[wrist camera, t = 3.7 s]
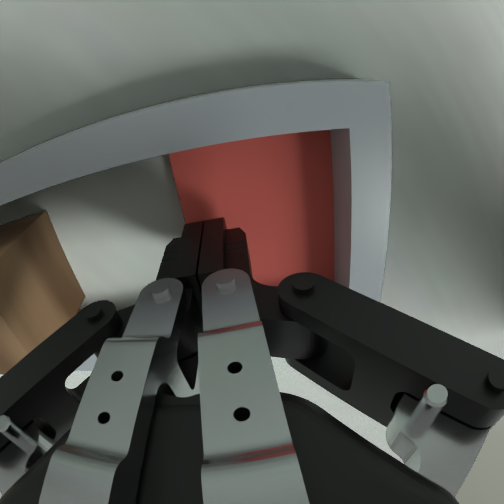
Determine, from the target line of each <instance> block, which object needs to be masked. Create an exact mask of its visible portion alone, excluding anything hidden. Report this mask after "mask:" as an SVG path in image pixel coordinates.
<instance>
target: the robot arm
mask: <svg viewBox="0 0 504 504" xmlns="http://www.w3.org/2000/svg"><path fill="white" fill-rule="evenodd" d="M93 354H95V356H96V357H97V361H96V363H95V365H94V368H93V370H92V373H91V375H90V376H89V377H88V378H87V379H85V380H84V381H83V382H82V383H81V384H80V385H79V386H78V387H76V388H74V389H68V388H66V387H65V381H66V378H67V377H68V376H69V375H70V374H71V373H72V372H73V371H75V370H76V369H77V368H78V367H79V366H80V365H81V364H83V363H84V362H85V361H86V360H87V359H88V358H90V357H91V356H92V355H93ZM270 356H272V357H281V358H285V359H286V361H287V363H288V364H289V365H290V366H291V367H293V368H294V369H295V370H297V371H298V372H300V373H301V374H303V375H304V376H306V377H307V378H309V379H310V380H312V381H313V382H315V383H316V384H318V385H320V386H321V387H323V388H324V389H326V390H327V391H329V392H330V393H332V394H333V395H335V396H337V397H338V398H340V399H341V400H343V401H345V402H346V403H348V404H349V405H351V406H353V407H354V408H356V409H357V410H359V411H361V412H362V413H364V414H366V415H367V416H369V417H371V418H372V419H374V420H376V421H377V422H379V423H381V424H382V425H384V426H386V427H387V429H386V441H387V443H388V445H389V447H390V449H391V450H392V451H393V452H394V453H396V454H397V455H398V456H399V457H400V458H401V459H402V460H403V462H404V464H403V463H401V462H400V461H398V460H397V459H395V458H393V457H392V456H390V455H389V454H387V453H386V452H384V451H383V450H381V449H379V448H378V447H376V446H375V445H373V444H372V443H370V442H369V441H367V440H366V439H364V438H363V437H362V436H360V435H359V434H357V433H356V432H354V431H353V430H351V429H350V428H348V427H347V426H346V425H344V424H343V423H341V422H340V421H339V420H337V419H336V418H334V417H333V416H332V415H330V414H329V413H327V412H326V411H325V410H323V409H322V408H320V407H319V406H317V405H316V404H314V403H312V402H310V401H309V400H306V399H304V398H301V397H299V396H295V395H292V394H287V393H282V392H279V388H278V384H277V380H276V376H275V373H274V369H273V365H272V361H271V357H270ZM503 415H504V360H503V359H501V358H499V357H497V356H495V355H493V354H490V353H488V352H486V351H484V350H482V349H480V348H478V347H475V346H473V345H471V344H469V343H467V342H465V341H463V340H460V339H458V338H456V337H454V336H452V335H450V334H448V333H445V332H443V331H441V330H439V329H437V328H435V327H432V326H430V325H428V324H426V323H424V322H422V321H419V320H417V319H415V318H413V317H411V316H409V315H406V314H404V313H402V312H400V311H398V310H395V309H393V308H391V307H389V306H387V305H385V304H382V303H380V302H378V301H376V300H374V299H371V298H369V297H367V296H365V295H363V294H361V293H358V292H356V291H354V290H352V289H350V288H347V287H345V286H343V285H341V284H339V283H336V282H334V281H332V280H330V279H328V278H325V277H323V276H321V275H319V274H316V273H311V272H300V273H295V274H292V275H289V276H287V277H286V278H284V279H283V280H282V281H281V282H280V283H279V285H278V286H268V285H263V284H261V283H259V282H257V281H255V280H254V279H253V275H252V267H251V261H250V255H249V249H248V244H247V238H246V233H245V232H244V231H243V230H242V229H241V228H240V227H238V228H232V229H227V227H226V222H225V219H224V217H221V218H215V219H209V220H205V222H204V221H198V222H192V223H187V224H185V225H184V229H183V233H182V237H179V238H174V239H173V240H172V241H171V242H170V243H169V244H168V245H167V246H166V249H165V252H164V256H163V258H162V263H161V265H160V268H159V272H158V275H157V278H156V281H154V282H152V283H150V284H148V285H147V286H146V287H145V288H144V289H143V290H142V291H141V293H140V295H139V297H138V299H137V302H136V304H135V305H133V306H130V307H128V308H125V309H122V310H119V311H117V309H116V308H115V306H114V304H113V303H112V302H110V301H106V300H102V301H97V302H94V303H92V304H90V305H88V306H87V307H85V308H84V309H83V310H81V311H80V312H79V313H77V314H76V315H75V316H74V317H72V318H71V319H70V320H69V321H67V322H66V323H65V324H64V325H62V326H61V327H60V328H59V329H57V330H56V331H55V332H54V333H53V334H51V335H50V336H49V337H48V338H46V339H45V340H44V341H43V342H42V343H40V344H39V345H38V346H37V347H36V348H34V349H33V350H32V351H31V352H30V353H29V354H27V355H26V356H25V357H24V358H23V359H21V360H20V361H19V362H18V363H17V364H16V365H14V366H13V367H12V368H11V369H10V370H9V371H8V372H6V373H5V374H4V375H3V376H2V377H1V378H0V492H1V493H2V497H1V499H0V504H459V503H458V502H457V500H456V499H455V496H456V494H457V493H458V490H459V489H460V488H461V486H462V484H463V482H464V481H465V478H466V477H467V475H468V473H469V471H470V470H471V468H472V466H473V464H474V462H475V460H476V458H477V456H478V454H479V452H480V449H481V448H482V445H483V443H484V441H485V439H486V437H487V434H488V432H489V430H490V429H491V428H492V427H493V426H494V425H495V424H496V423H497V421H499V420H500V418H501V417H502V416H503Z"/></svg>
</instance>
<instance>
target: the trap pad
mask: <svg viewBox="0 0 504 504" xmlns="http://www.w3.org/2000/svg"><path fill="white" fill-rule="evenodd" d="M169 159H170V163H171V167H172V171H173V175H174V180H175V184H176V188H177V192H178V196H179V200H180V204H181V208H182V211H183V215H184V219H185V223H186V224H187V223H192V222H198V221H204V222H205V220H209V219H215V218H221V217H224V219H225V222H226V227H227V229H232V228H238V227H240V228H241V229H242V230H243V231H244V232H245V233H246V238H247V244H248V249H249V255H250V261H251V267H252V275H253V279H254V280H255V281H257V282H259V283H261V284H263V285H268V286H278V285H279V283H280V282H281V281H282V280H283V279H284V278H286V277H287V276H289V275H292V274H295V273H300V272H311V273H316V274H319V275H321V276H323V277H325V278H328V279H330V280H332V281H334V263H335V235H334V191H333V168H332V150H331V136H330V130H319V131H308V132H298V133H289V134H281V135H273V136H266V137H258V138H251V139H245V140H238V141H232V142H226V143H220V144H215V145H209V146H204V147H199V148H194V149H189V150H184V151H179V152H174V153H170V154H169Z"/></svg>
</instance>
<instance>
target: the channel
mask: <svg viewBox="0 0 504 504" xmlns="http://www.w3.org/2000/svg"><path fill="white" fill-rule="evenodd" d="M319 130H330V136H331V150H332V168H333V191H334V235H335V263H334V282H336V283H339V284H341V285H343V286H345V287H347V288H350V289H352V290H354V291H356V292H358V293H361V294H363V295H365V296H367V297H369V298H371V299H374V300H376V301H378V302H380V298H381V292H382V285H383V277H384V269H385V261H386V252H387V242H388V230H389V217H390V201H391V178H392V121H391V98H390V82H389V81H380V80H368V79H329V80H310V81H296V82H284V83H274V84H265V85H257V86H249V87H242V88H236V89H229V90H223V91H217V92H212V93H206V94H201V95H196V96H191V97H187V98H182V99H178V100H173V101H169V102H165V103H161V104H157V105H153V106H149V107H145V108H142V109H138V110H134V111H131V112H128V113H124V114H121V115H118V116H114V117H111V118H108V119H105V120H102V121H99V122H96V123H93V124H90V125H87V126H85V127H82V128H79V129H76V130H74V131H71V132H68V133H66V134H63V135H61V136H58V137H56V138H53V139H51V140H48V141H46V142H44V143H41V144H39V145H37V146H34V147H32V148H30V149H28V150H26V151H23V152H21V153H19V154H17V155H15V156H13V157H11V158H9V159H7V160H5V161H3V162H1V163H0V206H1V205H3V204H6V203H8V202H11V201H13V200H16V199H18V198H21V197H24V196H26V195H29V194H32V193H34V192H37V191H40V190H43V189H46V188H48V187H51V186H54V185H57V184H60V183H63V182H66V181H69V180H73V179H76V178H79V177H82V176H85V175H89V174H92V173H95V172H99V171H102V170H106V169H109V168H113V167H117V166H120V165H124V164H128V163H132V162H136V161H140V160H144V159H148V158H152V157H157V156H161V155H165V154H170V153H174V152H179V151H184V150H189V149H194V148H199V147H204V146H209V145H215V144H220V143H226V142H232V141H238V140H245V139H251V138H258V137H266V136H273V135H281V134H289V133H298V132H308V131H319ZM96 361H97V357H96V356H95V354H93V355H92V356H91V357H90V358H88V359H87V360H86V361H85V362H84V363H83V364H81V365H80V366H79V367H78V368H77V369H76V370H75V371H92V370H93V368H94V365H95V363H96Z"/></svg>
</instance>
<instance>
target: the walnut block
mask: <svg viewBox="0 0 504 504" xmlns="http://www.w3.org/2000/svg"><path fill="white" fill-rule="evenodd" d="M84 298H85V294H84V293H83V291H82V289H81V287H80V285H79V283H78V281H77V279H76V277H75V275H74V273H73V271H72V269H71V266H70V264H69V262H68V260H67V258H66V256H65V253H64V251H63V249H62V247H61V244H60V242H59V240H58V238H57V235H56V233H55V230H54V228H53V226H52V223H51V221H50V218H49V216H48V213H47V210H46V211H43V212H40V213H36V214H33V215H30V216H27V217H24V218H21V219H18V220H15V221H12V222H9V223H6V224H4V225H1V226H0V374H5V373H6V372H8V371H9V370H10V369H11V368H12V367H13V366H14V365H16V364H17V363H18V362H19V361H20V360H21V359H23V358H24V357H25V356H26V355H27V354H29V353H30V352H31V351H32V350H33V349H34V348H36V347H37V346H38V345H39V344H40V343H42V342H43V341H44V340H45V339H46V338H48V337H49V336H50V335H51V334H53V333H54V332H55V331H56V330H57V329H59V328H60V327H61V326H62V325H64V324H65V323H66V322H67V321H69V320H70V319H71V318H72V317H74V316H75V315H76V314H77V312H78V310H79V308H80V306H81V304H82V302H83V300H84Z"/></svg>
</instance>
